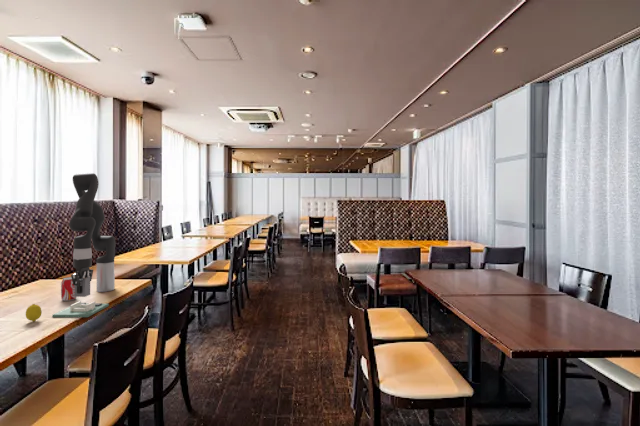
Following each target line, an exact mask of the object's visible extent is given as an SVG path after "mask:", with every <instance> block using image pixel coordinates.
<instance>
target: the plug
mask: <svg viewBox="0 0 640 426" xmlns="http://www.w3.org/2000/svg"><path fill="white" fill-rule="evenodd" d="M79 279H82V278H79ZM75 282H76V281H75ZM90 295H91V281H90V276H89V277H85V278H84V281H83V284H82V293H81V294H77V286H75V297H77V298H79V297H80V298H81V297H82V298H86V297H88V296H90Z"/></svg>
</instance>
